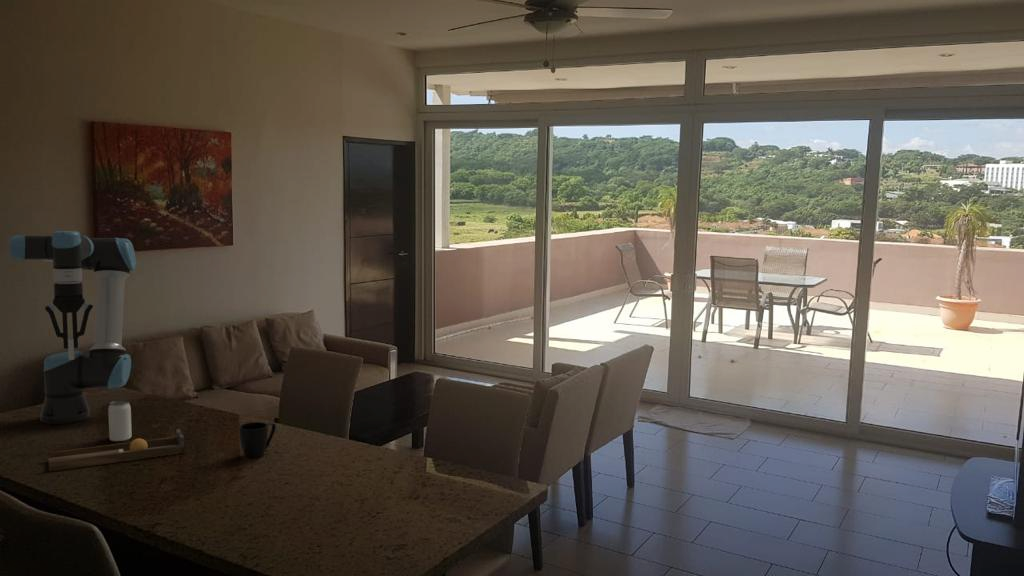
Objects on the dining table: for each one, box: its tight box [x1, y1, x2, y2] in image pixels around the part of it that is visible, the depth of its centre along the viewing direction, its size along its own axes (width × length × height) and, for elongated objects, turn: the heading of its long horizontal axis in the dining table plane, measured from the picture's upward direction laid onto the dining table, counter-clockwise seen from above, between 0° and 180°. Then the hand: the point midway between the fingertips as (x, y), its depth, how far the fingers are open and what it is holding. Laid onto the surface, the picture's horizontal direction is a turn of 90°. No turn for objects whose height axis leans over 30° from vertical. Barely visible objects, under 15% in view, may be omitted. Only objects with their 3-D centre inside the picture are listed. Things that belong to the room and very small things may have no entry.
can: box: [107, 400, 133, 443], centre depth 253 cm, size 6×6×12 cm
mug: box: [239, 421, 277, 460], centre depth 242 cm, size 8×12×10 cm
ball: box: [130, 437, 148, 451], centre depth 238 cm, size 5×5×5 cm
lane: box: [48, 428, 185, 472], centre depth 237 cm, size 10×36×5 cm, turn 120°
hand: (71, 358), depth 240 cm, fingers closed
